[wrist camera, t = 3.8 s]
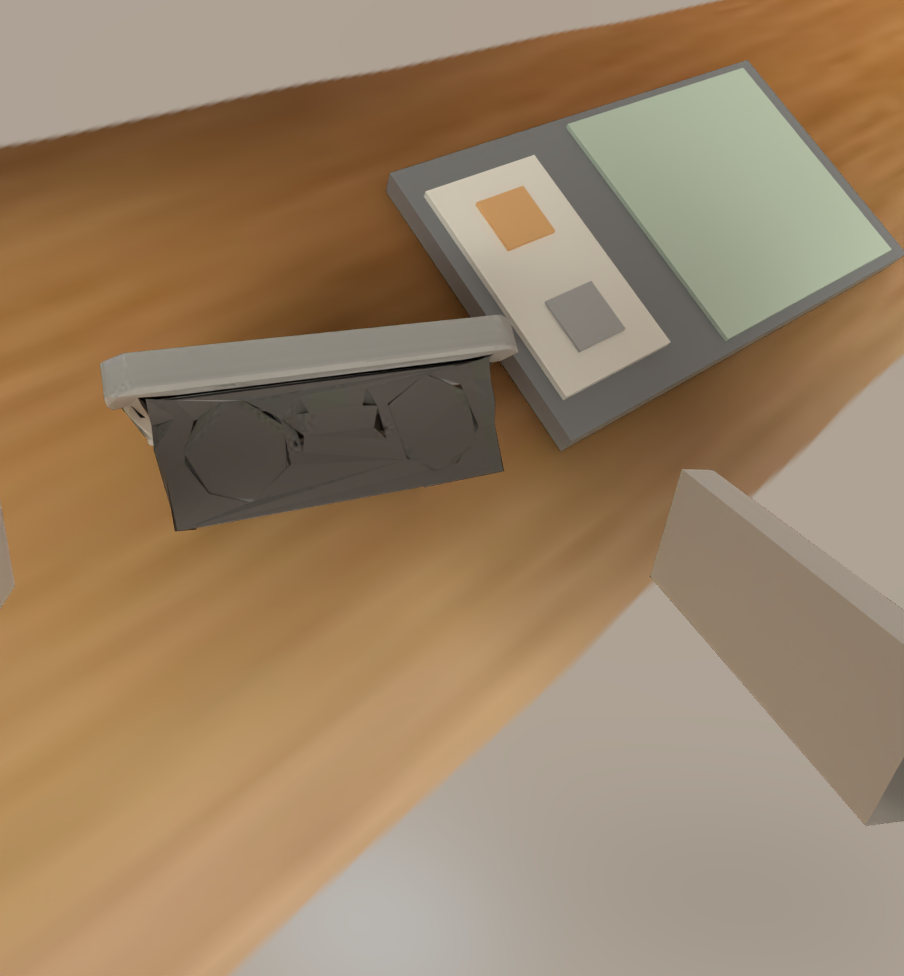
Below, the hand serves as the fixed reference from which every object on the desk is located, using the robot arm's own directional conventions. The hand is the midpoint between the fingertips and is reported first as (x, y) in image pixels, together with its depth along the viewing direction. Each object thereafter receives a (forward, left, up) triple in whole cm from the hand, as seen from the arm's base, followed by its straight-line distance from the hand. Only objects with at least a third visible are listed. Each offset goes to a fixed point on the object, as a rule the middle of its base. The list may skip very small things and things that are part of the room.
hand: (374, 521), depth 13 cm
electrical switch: (-1, +4, -9) cm, 10 cm away
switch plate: (+12, +19, -9) cm, 24 cm away
